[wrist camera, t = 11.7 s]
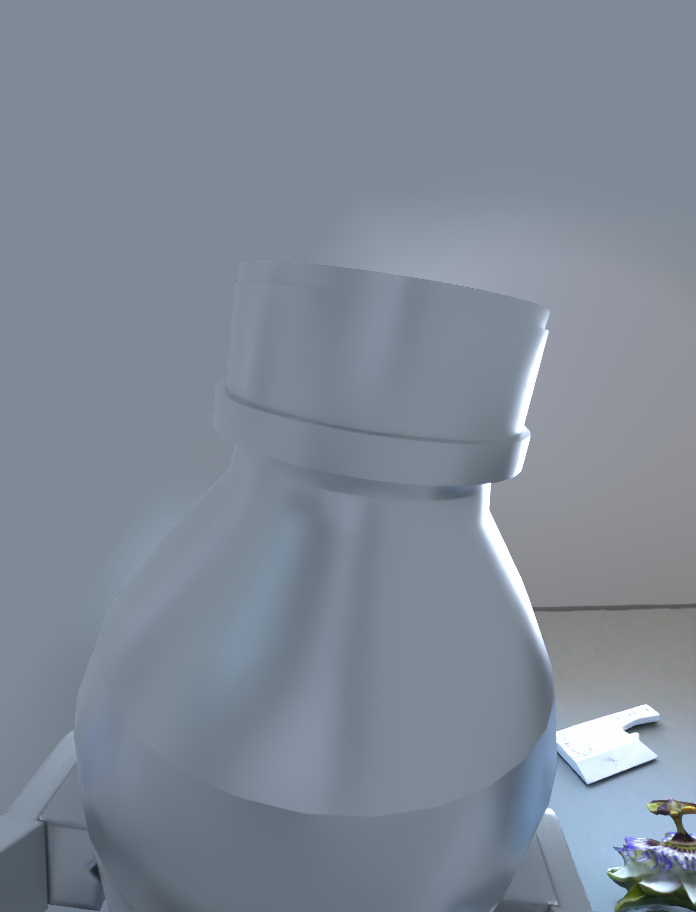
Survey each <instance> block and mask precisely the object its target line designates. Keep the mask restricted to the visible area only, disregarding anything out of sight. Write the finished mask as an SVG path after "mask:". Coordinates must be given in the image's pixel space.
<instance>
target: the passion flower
mask: <svg viewBox="0 0 696 912" xmlns="http://www.w3.org/2000/svg"><path fill="white" fill-rule="evenodd" d="M647 808H648V809H649V811H650V812H652V813H654V814H656V815H658V814H661V815H669V816H671V817H672V819H673V820H674V822H675V824H676V827H677V830H678V831H677V833H675V832H668V833H666V834H665V838H663V839H662V842H659V841H656V840H652V839H648V838H631V837H625V842H626V844H624V845H623V846H624V848H618V847H613V848H617V849H614V850H617V851H618V852H619V854H621V856H622V857H623V859H624V863H625V866H622V867H615V868H609V869H608V872H607V875H608V876H609V877H610V878H611V879H612V880H613V881H614V882H615V883H616V884H618V885H619V886H621V887H624V888H626V889H627V890H628V893H627V894H626V895H625V897H624V898H622V899H621V900H619V901H618V903H617V906H616V908H615V912H626V911H628V910H638V909H640V908H643V907H649V908H652V907H654V906H656V905H666V906H679V907H684V908H688V909H690V910H692V911H695V912H696V835H693V834H688V833H687V832H686V831H685V829H684V827H683V824H682V816H683V815H684V814H696V804H694V803H687V802H681V801H680V802H678V801H675V800H674V799H672V798H670V799H669V800H657V801H656V800H655V801H652V802H651V803H647ZM619 849H620V850H619ZM647 912H667V911H664V910H661V911H656V910H653V911H647Z"/></svg>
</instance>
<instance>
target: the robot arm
mask: <svg viewBox="0 0 696 912" xmlns="http://www.w3.org/2000/svg"><path fill="white" fill-rule="evenodd" d="M73 735H74V730H73V731H71V732H70V733H69V734H67V735H66V736H65V737H63V738H62V740H61V741H60V742H59V744H58V745H57V746H56V748H55V749H54V750H53V752H52V753H51V754H50V755H49V757H48V758H47V759H46V761H45V762H44V763H43V764H42V766H41V767H40V768H39V770H38V771H37V772H36V774H35V775H34V777H33V778H32V779H31V780H30V782H29V783H28V784H27V785H26V787H25V788H24V789H23V791H22V792H21V793H20V794H19V796H18V797H17V798H16V800H15V801H14V802H13V804H12V805H11V806H10V808H9V809H8V810H7V811H6V813H5V814H4V815H1V814H0V912H44V911H45V910H46V909H47V908H48V904H50V905H58V906H66V907H73V908H81V909H88V910H96V911H100V909H101V907H102V905H103V903H104V901H105V899H106V898H105V894H104V890H103V886H102V882H101V878H100V874H99V870H98V866H97V862H96V858H95V853H94V848H93V844H92V842H91V840H90V837H89V832H88V827H87V822H86V818H85V813H84V808H83V803H82V798H81V793H80V784H79V774H78V764H77V756H76V750H75V743H74V736H73ZM493 912H593V911H592V908H591V906H590V903H589V900H588V898H587V895H586V892H585V890H584V887H583V884H582V882H581V879H580V877H579V874H578V871H577V869H576V866H575V863H574V861H573V858H572V856H571V853H570V850H569V848H568V845H567V842H566V840H565V837H564V834H563V832H562V829H561V827H560V824H559V821H558V819H557V816H556V814H555V813H554V812H553V810H552V809H549V808H547V809H546V811H545V813H544V815H543V817H542V819H541V822H540V824H539V826H538V828H537V830H536V833H535V835H534V837H533V840H532V842H531V845H530V847H529V849H528V852H527V854H526V856H525V858H524V860H523V862H522V863H521V865H520V867H519V869H518V871H517V873H516V874H515V876H514V878H513V880H512V882H511V883H510V885H509V887H508V889H507V891H506V892H505V894H504V896H503V898H502V899H501V900H500V901H499V902H498V904H497V906H496V907H495V909H494V911H493Z"/></svg>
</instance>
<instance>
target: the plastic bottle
mask: <svg viewBox="0 0 696 912" xmlns="http://www.w3.org/2000/svg"><path fill="white" fill-rule="evenodd" d="M549 313H550V310H548V309H547V308H545V307H543V306H540V305H537V304H535V303H532V302H529V301H525V300H521V299H517V298H513V297H510V296H506V295H501V294H497V293H492V292H488V291H484V290H479V289H474V288H469V287H464V286H458V285H453V284H448V283H443V282H437V281H431V280H425V279H419V278H413V277H407V276H401V275H394V274H387V273H381V272H373V271H366V270H359V269H352V268H343V267H335V266H326V265H317V264H306V263H294V262H281V261H280V262H279V261H246V262H241V263H240V267H239V282H235V283H234V294H233V307H232V316H231V327H230V338H229V349H228V359H227V369H226V379H225V380H222V381H220V382H218V383H216V387H215V397H214V407H213V418H212V425H213V427H214V428H215V429H216V431H217V432H218V433H219V434H221V435H222V436H224V437H225V438H227V439H228V440H229V441H231V442H233V443H235V444H236V447H235V450H234V453H233V457H232V460H231V464H230V467H229V470H228V471H227V472H226V473H225V474H224V475H223V476H222V477H221V478H220V479H219V480H218V481H217V482H216V483H215V484H214V485H213V486H212V487H211V488H210V489H209V490H208V491H207V492H206V493H205V494H204V495H203V496H202V497H201V498H200V499H199V500H198V501H197V502H196V503H195V504H194V505H193V506H192V507H191V508H190V509H189V510H188V512H187V513H185V514H184V516H183V517H182V518H181V519H180V520H179V521H178V522H177V523H176V524H175V525H174V526H173V527H172V528H171V529H170V530H169V531H168V533H167V534H166V535H165V536H164V538H163V539H162V540H161V542H160V543H159V544H158V545H157V547H156V548H155V549H154V551H153V552H152V553H151V554H150V556H149V557H148V558H147V559H146V561H145V562H144V563H143V564H142V566H141V567H140V568H139V569H138V571H137V572H136V573H135V575H134V576H133V577H132V578H131V580H130V581H129V582H128V583H127V585H126V586H125V587H124V589H123V590H122V591H121V592H120V594H119V595H118V596H117V597H116V599H115V600H114V601H113V602H112V604H111V607H110V609H109V611H108V614H107V616H106V619H105V621H104V624H103V626H102V628H101V631H100V634H99V637H98V639H97V642H96V645H95V648H94V650H93V653H92V656H91V659H90V661H89V664H88V667H87V670H86V672H85V675H84V678H83V681H82V683H81V686H80V689H79V692H78V694H77V702H76V713H75V724H74V735H73V736H74V743H75V750H76V756H77V764H78V774H79V784H80V793H81V798H82V803H83V808H84V813H85V818H86V822H87V827H88V832H89V837H90V840H91V842H92V844H93V848H94V853H95V858H96V862H97V866H98V870H99V874H100V878H101V882H102V886H103V890H104V894H105V898H106V901H107V906H108V910H109V912H493V911H494V909H495V907H496V906H497V904H498V902H499V901H500V900H501V899H502V898H503V896H504V894H505V892H506V891H507V889H508V887H509V885H510V883H511V882H512V880H513V878H514V876H515V874H516V873H517V871H518V869H519V867H520V865H521V863H522V862H523V860H524V858H525V856H526V854H527V852H528V849H529V847H530V845H531V842H532V840H533V837H534V835H535V833H536V830H537V828H538V826H539V824H540V822H541V819H542V817H543V815H544V813H545V811H546V809H547V807H548V805H549V801H550V796H551V792H552V787H553V783H554V778H555V773H556V769H557V743H556V719H555V697H554V683H553V669H552V666H551V663H550V660H549V657H548V654H547V651H546V648H545V645H544V642H543V639H542V636H541V633H540V630H539V627H538V624H537V621H536V618H535V616H534V613H533V610H532V607H531V604H530V601H529V598H528V595H527V593H526V590H525V587H524V585H523V582H522V580H521V577H520V575H519V573H518V571H517V569H516V567H515V565H514V563H513V561H512V558H511V556H510V554H509V552H508V550H507V548H506V546H505V543H504V541H503V539H502V537H501V535H500V533H499V531H498V529H497V527H496V524H495V522H494V520H493V518H492V516H491V514H490V511H489V497H490V483H496V482H500V481H503V480H506V479H510V478H513V477H514V476H516V475H517V474H518V473H519V472H520V471H521V469H522V466H523V461H524V458H525V454H526V451H527V447H528V443H529V439H530V431H529V430H528V429H527V428H526V427H525V426H524V422H525V418H526V414H527V410H528V406H529V403H530V399H531V395H532V391H533V387H534V383H535V380H536V376H537V372H538V369H539V365H540V361H541V357H542V353H543V350H544V346H545V343H546V339H547V335H548V330H546V329H545V325H546V322H547V319H548V316H549Z"/></svg>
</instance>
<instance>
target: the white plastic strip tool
mask: <svg viewBox="0 0 696 912" xmlns="http://www.w3.org/2000/svg"><path fill="white" fill-rule="evenodd" d="M659 717H660V715H659V714H658V713H657V712H656V711H654V710H653V709H652V708H651V707H649V706H648V705H647V704H645V705H642V706H639V707H636V708H632V709H629V710H626V711H623V712H619V713H616V714H613V715H608V716H605V717H601V718H600V719H599V718H598V719H596V720H595V719H594V720H593V721H592V720H591V721H590V722H588V721H587V723H585V722H583V724H581V723H580V725H578V724H576V725H577V726H574V725H573V726H574V727H571V726H570V728H567V729H564V730H561V731H557V732H556V743H557V752H558V753H559V754H560V755H561V756H562V757H563V758H564V759H565V760H566V761H567V762H568V764H569V765H570V766H571V767H572V768H573V769H574V770H575V771H576V772H577V773H578V774H579V776H580V777H581V778H582V779H583V780H584V781H585V782H586V783H587V784H590V783H593V782H596V781H598V780H601V779H603V778H606V777H609V776H611V775H614V774H616V773H619V772H622V771H624V770H627V769H630V768H632V767H635V766H637V765H640V764H643V763H645V762H648V761H650V760H653V759H656V758H658V756H657V755H655V754H654V753H653V752H652V751H651V750H650V749H649V748H648V747H646V746H645V745H644V744H643V743H642V742H641V741H640V740H639V739H638V738H639V734H638V733H632V734H630V735H629V734H628V733H627V732H625V730H627V729H628V728H630V727H632V726H635V725H638V724H643V723H648V722H655V721H658V719H659Z"/></svg>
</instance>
